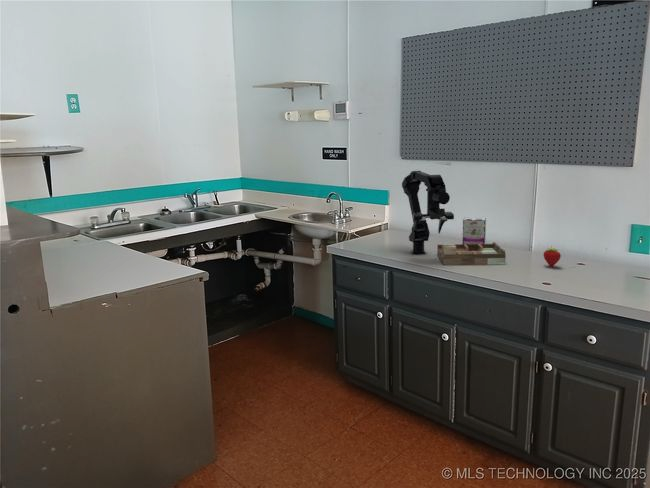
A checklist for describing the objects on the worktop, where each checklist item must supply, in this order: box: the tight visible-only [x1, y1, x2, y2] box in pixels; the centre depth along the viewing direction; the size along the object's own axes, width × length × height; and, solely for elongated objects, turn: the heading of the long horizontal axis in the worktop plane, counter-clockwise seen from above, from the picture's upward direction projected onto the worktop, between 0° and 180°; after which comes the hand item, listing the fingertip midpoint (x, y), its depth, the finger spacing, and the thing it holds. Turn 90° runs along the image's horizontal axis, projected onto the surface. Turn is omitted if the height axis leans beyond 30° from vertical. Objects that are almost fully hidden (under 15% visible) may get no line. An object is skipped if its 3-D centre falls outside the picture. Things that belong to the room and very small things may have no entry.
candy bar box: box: [462, 217, 487, 244], centre depth 261 cm, size 11×5×16 cm, turn 68°
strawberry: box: [543, 246, 562, 268], centre depth 226 cm, size 6×8×10 cm
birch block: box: [441, 243, 456, 254], centre depth 244 cm, size 6×6×4 cm
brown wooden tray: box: [437, 241, 507, 266], centre depth 244 cm, size 20×28×6 cm
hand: (432, 233), depth 243 cm, fingers open, 6 cm apart
